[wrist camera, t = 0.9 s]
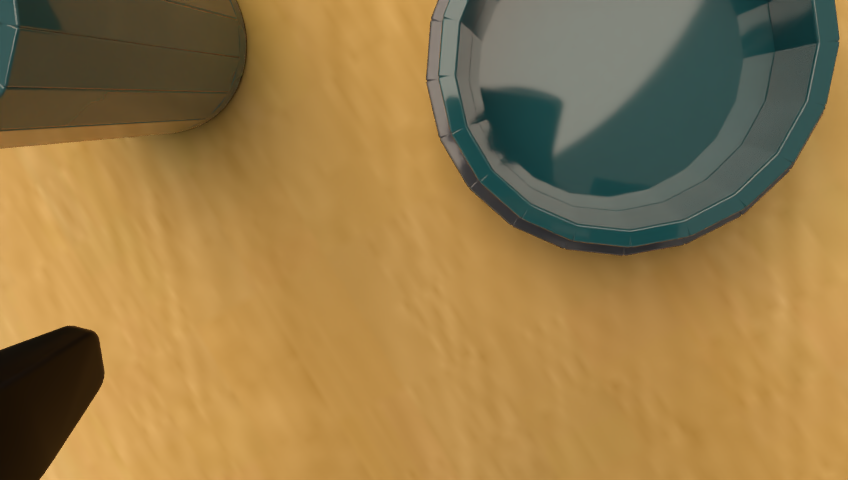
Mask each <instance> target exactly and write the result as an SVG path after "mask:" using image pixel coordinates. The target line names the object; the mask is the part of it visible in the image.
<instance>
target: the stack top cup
mask: <svg viewBox="0 0 848 480" xmlns="http://www.w3.org/2000/svg"><path fill="white" fill-rule="evenodd" d="M838 41H839V31H838V23H837V14H836V6H835V0H449V2H448V4H447V7H446V9H445V12H444V14H443V19H442V29H441V42H440V54H439V67H438V77H439V78H438V81H439V85H440V89H441V94H442V98H443V103H444V107H445V111H446V116H447V120H448V125H449V129H450V132H451V133H452V137H453V138H454V140H455V142H456V144H457V145H458V147H459V149H460V150H461V152H462V154H463V155H464V157H465V159H466V161H467V162H468V164H469V166H470V167H471V169H472V171H473V172H474V174H475V176H476V177H477V179H478V180H479V181H480V183H481V184H482V185H483V186H484V187H485V188H487V189H488V190H489V191H490V192H491V193H492V194H493V195H495V196H496V197H497V198H498V199H499V200H500V201H501V202H502V203H504V204H505V205H506V206H507V207H508V208H509V209H510V210H511V211H513V212H514V213H515V214H516V215H517V216H518V217H520V218H522V219H523V220H525V221H527V222H529V223H532V224H534V225H536V226H539V227H541V228H543V229H545V230H548V231H550V232H552V233H555V234H557V235H559V236H561V237H564V238H566V239H568V240H573V241H575V242H583V243H592V244H601V245H610V246H619V247H630V246H631V247H637V246H643V245H648V244H654V243H659V242H664V241H670V240H675V239H681V238H686V237H689V235H690V236H692V235H694V234H696V233H698V232H700V231H702V230H704V229H706V228H708V227H710V226H712V225H714V224H716V223H718V222H720V221H722V220H724V219H726V218H728V217H730V216H732V215H734V214H736V213H738V212H740V211H742V210H743V209H745V207H748V206H749V205H750V204H751V203H752V202H753V201H754V200H755V199H756V198H757V197H758V196H759V195H760V194H762V193H763V192H764V191H765V190H766V189H767V188H768V187H769V186H770V185H771V184H772V183H773V182H774V181H775V180H776V179H777V178H778V177H780V176H781V175H782V174H783V173H784V172H785V171H786V170H787V169H788V168H789V167H790V166H791V165H792V163H793V162H794V161H795V160H796V158H797V156H798V154H799V153H800V151H801V149H802V147H803V146H804V144H805V142H806V140H807V139H808V137H809V135H810V133H811V132H812V130H813V128H814V126H815V125H816V123H817V121H818V119H819V118H820V116H821V114H822V112H823V111H824V109H825V106H824V105H826V104H827V99H828V94H829V90H830V85H831V80H832V75H833V71H834V66H835V61H836V57H837V52H838V47H839V42H838Z"/></svg>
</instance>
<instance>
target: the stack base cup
mask: <svg viewBox="0 0 848 480" xmlns="http://www.w3.org/2000/svg"><path fill="white" fill-rule="evenodd" d="M448 2H449V0H438V1H437V4H436V7H435V9H434V12H433V14H432V17H431V19H432V20H431V22H430V33H429V46H428V60H427V73H426V80H427V88H428V92H429V96H430V101H431V105H432V109H433V114H434V118H435V122H436V127H437V131H438V135H439V137H440V141H441V142H442V144H443V146H444V147H445V149H446V151H447V152H448V154H449V156H450V158H451V159H452V161H453V163H454V164H455V166H456V168H457V169H458V171H459V173H460V174H461V176H462V178H463V179H464V181H465V183H466V184H467V186H468V187H470V190H471V191H472V192H474V193H475V194H476V195H477V196H478V197H479V198H480V199H481V200H483V201H484V202H485V203H486V204H487V205H488V206H489V207H491V208H492V209H493V210H494V211H495V212H496V213H497V214H498V215H500V216H501V217H502V218H503V219H504V220H505V221H506V222H507V223H509V224H510V225H512V226H513V227H515V228H517V229H519V230H522V231H524V232H526V233H529V234H531V235H533V236H535V237H538V238H540V239H542V240H544V241H547V242H549V243H551V244H554V245H556V246H558V247H560V248H565V249H566V250H575V251H584V252H593V253H602V254H610V255H619V256H622V255H625V256H626V255H632V254H637V253H643V252H648V251H654V250H659V249H665V248H670V247H676V246H681V245H684V244H687V243H689V242H691V241H693V240H695V239H697V238H699V237H701V236H703V235H705V234H707V233H709V232H711V231H713V230H715V229H717V228H719V227H721V226H723V225H725V224H727V223H729V222H731V221H733V220H735V219H737V218H739V217H740V216H741V214H742V215H743V214H745V213H746V212H747V211H748V210H749V209H750V208H751V207H752V206H753V205H754V204H755V203H756V202H757V201H758V200H759V199H760V198H762V197H763V196H764V195H765V194H766V193H767V192H768V191H769V190H770V189H771V188H772V187H773V186H774V185H775V184H776V183H777V182H778V181H780V180H781V179H782V178H783V177H784V176H785V175H786V174H787V173H788V172H789V171H790V170H789V169H791V168H792V167H793V165H794V163H795V162H796V160H797V158H798V156H799V155H800V153H801V151H802V149H803V148H804V146H805V144H806V142H807V141H808V139H809V137H810V135H811V134H812V132H813V130H814V128H815V127H816V125H817V123H818V121H819V120H820V118H821V116H822V114H823V112H822V114H821V116H820V118H819V119H818V121H817V123H816V125H815V126H814V128H813V130H812V132H811V133H810V135H809V137H808V139H807V140H806V142H805V144H804V146H803V147H802V149H801V151H800V153H799V154H798V156H797V158H796V160H795V161H794V162H793V163H792V165H791V166H790V167H789V168H788V169H787V170H786V171H785V172H784V173H783V174H782V175H781V176H780V177H778V178H777V179H776V180H775V181H774V182H773V183H772V184H771V185H770V186H769V187H768V188H767V189H766V190H765V191H764V192H763V193H762V194H760V195H759V196H758V197H757V198H756V199H755V200H754V201H753V202H752V203H751V204H750V205H749V206H748V207H745V209H743V210H742V211H740V212H738V213H736V214H734V215H732V216H730V217H728V218H726V219H724V220H722V221H720V222H718V223H716V224H714V225H712V226H710V227H708V228H706V229H704V230H702V231H700V232H698V233H696V234H694V235H692V236H690V235H689V237H686V238H681V239H675V240H670V241H664V242H659V243H654V244H648V245H643V246H637V247H631V246H630V247H619V246H610V245H601V244H592V243H583V242H575V241H573V240H568V239H566V238H564V237H561V236H559V235H557V234H555V233H552V232H550V231H548V230H545V229H543V228H541V227H539V226H536V225H534V224H532V223H529V222H527V221H525V220H523V219H522V218H520V217H518V216H517V215H516V214H515V213H514V212H513V211H511V210H510V209H509V208H508V207H507V206H506V205H505V204H504V203H502V202H501V201H500V200H499V199H498V198H497V197H496V196H495V195H493V194H492V193H491V192H490V191H489V190H488V189H487V188H485V187H484V186H483V185H482V184H481V183H480V181H479V180H478V179H477V177H476V176H475V174H474V172H473V171H472V169H471V167H470V166H469V164H468V162H467V161H466V159H465V157H464V155H463V154H462V152H461V150H460V149H459V147H458V145H457V144H456V142H455V140H454V138H453V137H452V133H451V132H450V129H449V125H448V120H447V116H446V111H445V107H444V103H443V98H442V94H441V89H440V85H439V81H438V78H439V77H438V67H439V54H440V42H441V29H442V19H443V14H444V12H445V9H446V7H447V4H448ZM824 106H826V105H824Z"/></svg>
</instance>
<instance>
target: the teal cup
mask: <svg viewBox="0 0 848 480" xmlns="http://www.w3.org/2000/svg"><path fill="white" fill-rule="evenodd" d="M245 58H246V34H245V27H244V22H243V18H242V14H241V12H240V9H239V6H238V3H237V1H236V0H0V149H2V148H13V147H24V146H35V145H47V144H58V143H69V142H80V141H91V140H102V139H114V138H125V137H136V136H147V135H158V134H170V133H177V132H181V131H185V130H189V129H192V128H195V127H198V126H200V125H202V124H204V123H206V122H208V121H209V120H211V119H212V118H213V117H215V116H216V115H217V114H218V113H219V112H220V111H221V110H222V109H223V108H224V107H225V106H226V105H227V103H228V102H229V101H230V99H231V98H232V96H233V95H234V93H235V91H236V89H237V87H238V85H239V82H240V80H241V77H242V74H243V70H244V66H245Z"/></svg>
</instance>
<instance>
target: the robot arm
mask: <svg viewBox="0 0 848 480" xmlns="http://www.w3.org/2000/svg"><path fill="white" fill-rule="evenodd" d="M103 379H104V366H103V360H102V354H101V348H100V342H99V337H98V335H97V334H96V333H95V332H94V331H92V330H88V329H84V328H80V327H76V326H65V327H62V328H60V329H57V330H54V331H51V332H49V333H46V334H43V335H40V336H38V337H35V338H32V339H29V340H27V341H24V342H21V343H18V344H16V345H13V346H10V347H7V348H5V349H2V350H0V480H40V478H41V477H42V476H43V474H44V473H45V471H46V470H47V469H48V467H49V466H50V464H51V463H52V461H53V460H54V458H55V457H56V455H57V454H58V452H59V451H60V449H61V448H62V446H63V445H64V443H65V441H66V440H67V438H68V437H69V435H70V434H71V432H72V431H73V429H74V428H75V426H76V424H77V423H78V421H79V420H80V418H81V417H82V415H83V414H84V412H85V411H86V409H87V408H88V406H89V404H90V403H91V401H92V400H93V398H94V397H95V395H96V394H97V392H98V391H99V389H100V387H101V385H102V383H103Z"/></svg>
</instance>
